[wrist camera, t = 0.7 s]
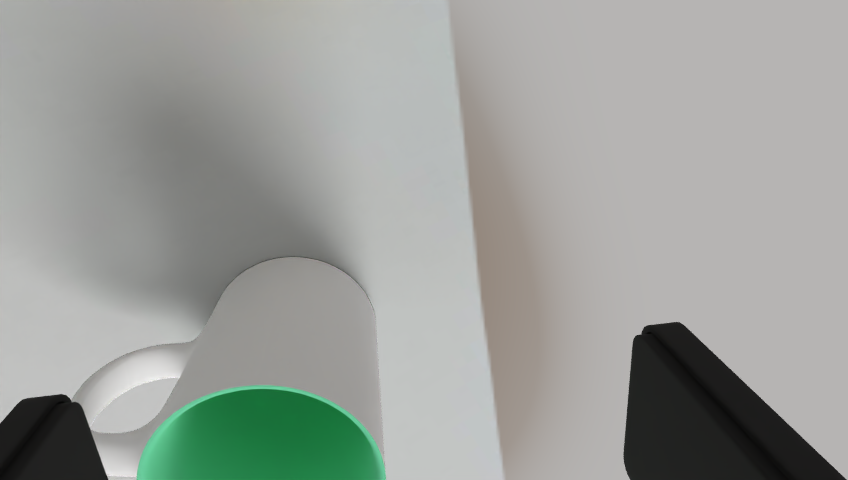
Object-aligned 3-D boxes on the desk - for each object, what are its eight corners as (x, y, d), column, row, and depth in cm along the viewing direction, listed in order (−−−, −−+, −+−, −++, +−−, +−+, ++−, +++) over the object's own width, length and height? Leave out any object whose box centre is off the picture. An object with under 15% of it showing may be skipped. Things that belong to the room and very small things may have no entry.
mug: (147, 411, 29) (44, 601, 20) (112, 268, 26) (-28, 409, 17) (380, 391, 30) (391, 561, 21) (371, 251, 28) (378, 374, 18)
